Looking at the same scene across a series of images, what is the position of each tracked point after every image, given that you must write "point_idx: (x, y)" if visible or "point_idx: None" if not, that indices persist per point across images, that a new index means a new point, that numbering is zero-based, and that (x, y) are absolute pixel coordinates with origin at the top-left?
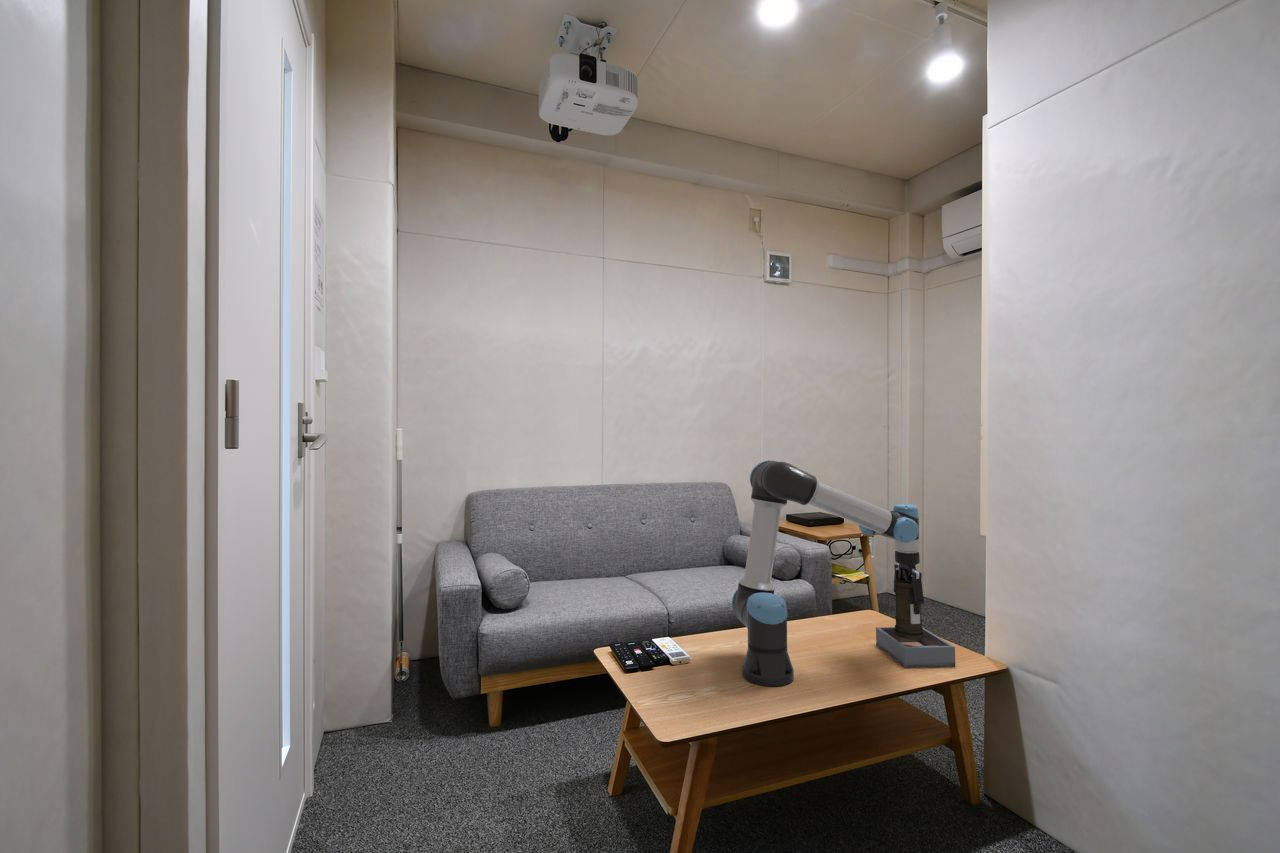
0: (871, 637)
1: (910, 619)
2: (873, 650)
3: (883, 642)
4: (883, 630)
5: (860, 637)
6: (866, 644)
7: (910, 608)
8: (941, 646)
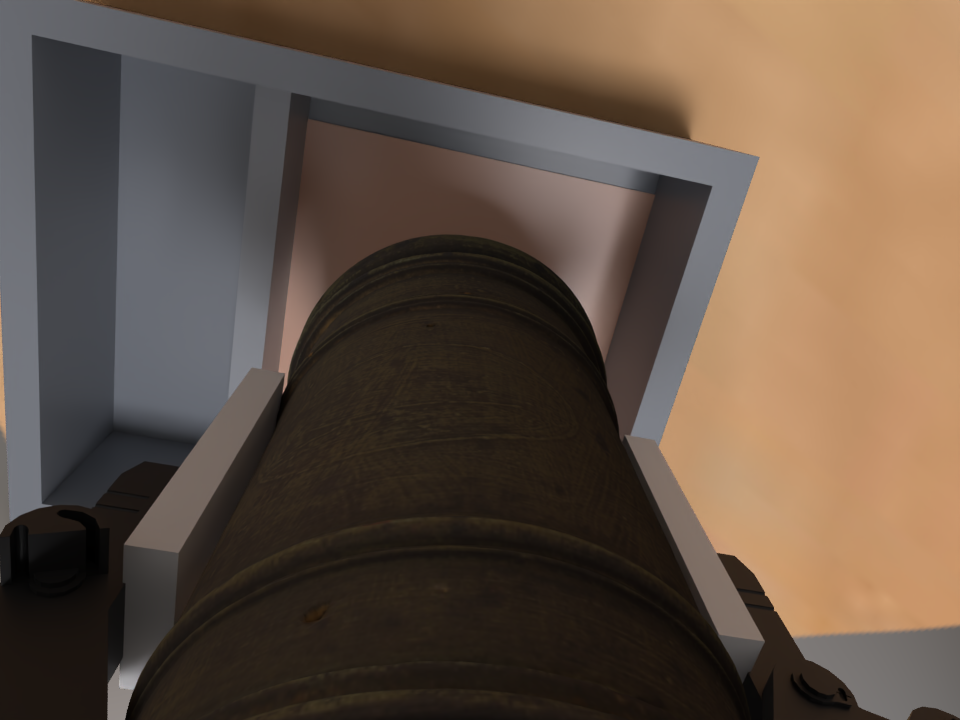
0: (868, 230)
1: (289, 401)
2: (577, 6)
3: (547, 107)
4: (689, 222)
5: (919, 123)
6: (740, 50)
7: (215, 487)
8: (25, 421)
